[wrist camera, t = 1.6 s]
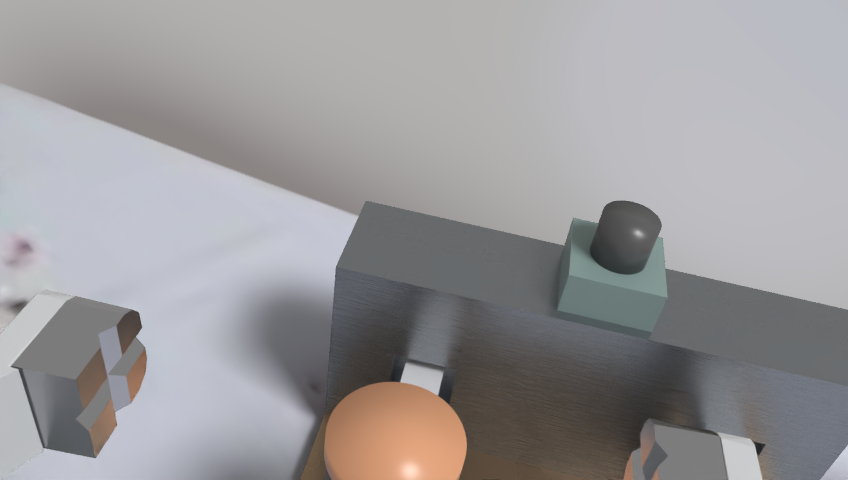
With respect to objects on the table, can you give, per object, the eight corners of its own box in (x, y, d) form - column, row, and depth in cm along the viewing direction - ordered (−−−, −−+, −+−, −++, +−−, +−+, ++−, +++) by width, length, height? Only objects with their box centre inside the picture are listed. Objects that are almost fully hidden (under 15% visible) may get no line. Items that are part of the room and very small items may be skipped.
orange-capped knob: (297, 636, 30) (306, 479, 23) (374, 397, 39) (396, 237, 32) (411, 667, 29) (454, 517, 23) (461, 419, 39) (502, 261, 32)
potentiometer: (557, 310, 32) (581, 236, 29) (562, 251, 35) (584, 181, 32) (651, 332, 32) (684, 259, 29) (648, 271, 35) (678, 201, 32)
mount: (260, 594, 32) (258, 436, 25) (350, 356, 43) (365, 200, 36) (809, 741, 30) (967, 615, 23) (758, 455, 41) (856, 311, 34)
